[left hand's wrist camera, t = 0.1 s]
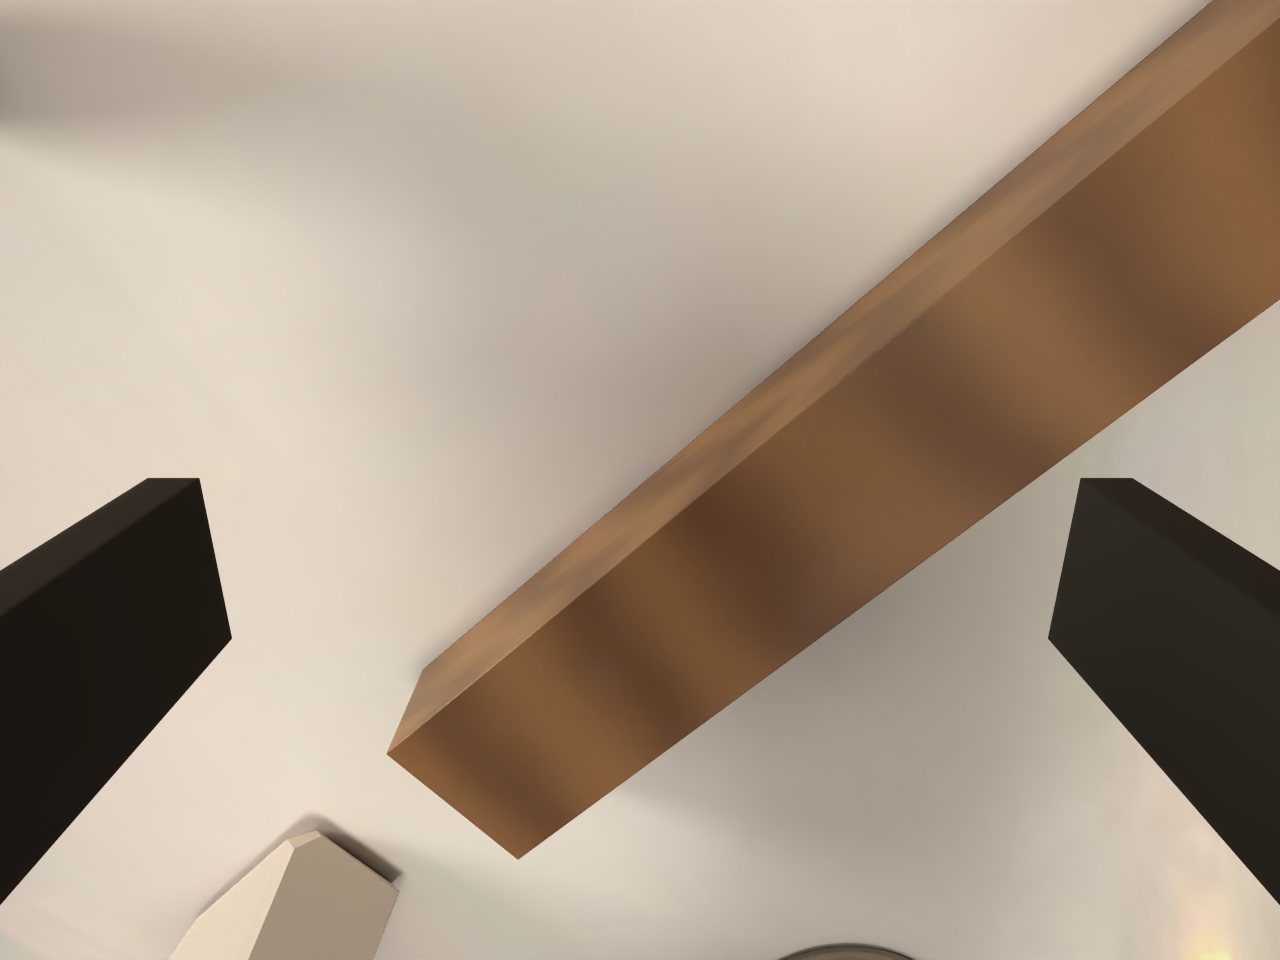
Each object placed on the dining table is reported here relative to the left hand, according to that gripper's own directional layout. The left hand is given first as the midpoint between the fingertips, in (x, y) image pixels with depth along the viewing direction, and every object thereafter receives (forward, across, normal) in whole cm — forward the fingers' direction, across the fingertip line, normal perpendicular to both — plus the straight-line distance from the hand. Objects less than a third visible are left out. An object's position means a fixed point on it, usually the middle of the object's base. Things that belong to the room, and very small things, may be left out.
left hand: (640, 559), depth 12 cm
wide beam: (+28, -12, +4) cm, 31 cm away
